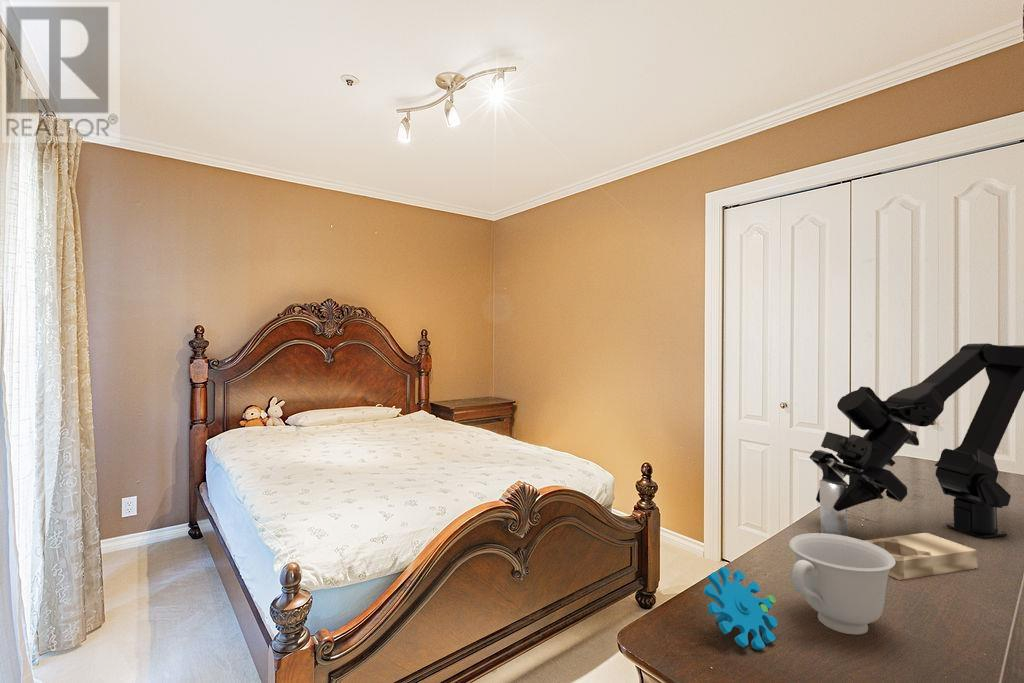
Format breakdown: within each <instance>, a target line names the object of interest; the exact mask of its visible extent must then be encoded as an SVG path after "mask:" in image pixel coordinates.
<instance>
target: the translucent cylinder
mask: <svg viewBox="0 0 1024 683" xmlns="http://www.w3.org/2000/svg"><path fill="white" fill-rule="evenodd" d="M845 482H846V481H845ZM845 482H842V481H838V480H830V479H823V480H822V479H819V488H820V503H819V509H820V533H826V534H836V535H842V536H847V537H849V521H848V520H849V519H848V518H849V517H848V514H849V513H848V508H847V509H844V510H841V511H836V510H835V509H834V508H833V506H834V505H835V503H836V501H837V500H838V498H839V497H840V496H841V494H842V493H843V492H844V490H845V489H846V488H847V485H846V483H847V482H846V483H845Z"/></svg>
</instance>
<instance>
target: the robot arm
mask: <svg viewBox="0 0 1024 683" xmlns="http://www.w3.org/2000/svg"><path fill="white" fill-rule="evenodd" d="M983 370H985V373H986V375H987V378H988V381H989V382H988V385H987V387H986V390H985V391H984V394H983V395H982V398H981V400H980V403H979V405H978V407H977V409H976V411H975V413H974V416H973V418H972V420H971V422H970V425H969V427H968V429H967V430H966V433H965V435H964V438H963V439H962V441H961V444H960V445H959V446H957V447H956V448H954V449H951V448H946V447H945V448H944V449H943V450H942V451H941V453H940V457H939V460H938V461H937V462H936V463H935V464H934V467H936V468H935V477H936V478H937V481H938V483H939V485H940V488H941V491H942V492H943V494H944V495H946V496H950V497H954V498H953V508H952V510H953V512H952V513H953V523H946V525H945V526H946V527H947V528H948V529H952V530H955V531H958V532H961V533H964V534H967V535H970V536H974V537H977V538H980V539H987V538H994V537H1002V536H1003V537H1004V536H1007V535H1008V532H1007V531H1004V530H1001V529H999V528H998V511H997V509H1002V508H1003V507H1008V506H1009V504H1010V501H1011V497H1012V495H1011V494H1010V493H1009V492H1008V491H1007V490H1006V489H1005V488H1003V487H1002V485H1000V484H999V482H997V480H998V476H999V469H998V466H997V463H996V460H995V454H996V452H997V451H998V448H999V446H1000V444H1001V441H1002V440H1003V436H1004V435H1005V433H1006V430H1007V429H1008V426H1009V423H1010V422H1011V420H1012V417H1013V415H1014V412H1015V410H1016V408H1017V406H1018V405H1019V402H1020V399H1021V398H1022V396H1023V393H1024V345H1022V344H1021V345H999V344H992V343H989V342H987V343H984V342H983V343H968V344H965V345H963V346H961V347H960V349H959V351H958V352H957V353H956V354H954V355H953V356H952V357H951V358H950V359H948V360H947V361H946V362H945V363H943V364H942V365H941V366H940V367H938V368H937V369H936V370H935V371H934V372H932V373H931V374H930V375H928V376H927V377H926V378H925V379H923V381H922V382H919V383H917V384H915V385H911V386H910V387H906V388H903V389H900V390H899V391H897V392H895V393H893V394H892V395H890V396H888V398H887V399H886V400H882V399H881V398H880V397H879V396H877V394H876V393H875V392H874V390H873V389H872V388H871V387H870V386H860V387H859V388H858V389H857V390H854V391H853V390H852V391H850V392H849V393H847V394H845V395H843V396H842V397H840V398H839V400H838V402H837V405H836V406H837V409H838V410H839V411H840V412H841V413H842V414H843V415H844V416H845V417H846V418H847V419H848V420H849V421H850V422H851V423H852V424H853V425H855V426H856V428H857V429H859V430H861V431H867V432H866V433H865V434H864V435H863V436H860V435H857V434H851V435H849V436H844V435H841V434H838V433H833V432H829V431H826V432H825V435H824V437H823V440H822V442H821V444H820V447H821V448H824V449H828V450H831V451H833V452H834V453H836V454H835V455H834V454H833V453H832V452H828V451H824V450H821V449H819V450H818V449H815V450H814V451H813V452H812V453H811V454H810V456H809V457H808V458H809V459H810V460H811V461H812V462H813V463H814V464H815V465H816V466H817V467H818V468H819V469H821V471H822V479H821V480H823V479H830V480H838V481H842V482H845V483H846V485H847V488H846V489H845V490H844V492H843V493H842V494H841V496H840V497H839V498H838V500H837V501H836V503H835V505H834V506H833V508H834V509H835V510H836V511H841V510H844V509H847V510H848V509H850V508H852V507H854V506H858V505H860V504H864V503H866V502H868V503H869V502H870V501H874V500H878V499H880V500H882V499H884V496H883V495H882V494H883V492H885V494H886V497H887V498H888V499H891V500H894V501H897V502H899V503H902V502H903V501H904V499H905V498H906V497H907V496H908V487H907V485H905V484H904V483H903V481H901V479H899V477H897V476H896V475H895V474H894V473H893V472H892V471H891V470H890V469H889V470H888V469H886V468H885V467H886V466H889V467H894V466H895V464H896V461H894V460H893V458H894V456H895V455H896V454H897V453H898V452H899V451H900V450H901V449H902V447H903V446H904V445H905V444H907V445H912V446H916V447H918V446H919V445H920V441H919V439H918V438H919V437H918V436H917V431H915V430H911V429H909V428H907V427H906V426H905V425H910V426H914V427H915V426H916V427H928V426H931V425H932V424H933V423H934V422H935V421H936V420H937V418H939V417H940V415H941V414H942V413H943V411H944V408H945V402H946V401H947V399H948V398H950V397H951V396H952V395H954V394H955V393H956V392H957V391H958V390H960V389H961V388H962V387H963V386H964V385H966V384H967V383H968V382H969V381H970V380H972V379H973V378H974V377H975V376H977V375H978V374H979V373H981V371H983ZM904 424H905V425H904ZM839 459H840V460H839ZM841 460H842V462H841ZM846 476H849V483H847V481H845V480H844V478H846ZM815 500H816V502H818V503H819V504H820V487H819V489H818V492H817V495H816V497H815Z"/></svg>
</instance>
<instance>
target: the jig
mask: <svg viewBox="0 0 1024 683" xmlns="http://www.w3.org/2000/svg"><path fill="white" fill-rule="evenodd" d="M863 541H866V542H869V543H872V544H874V545H877V546H879V547H881V548H883V549H884V550H886V551H887V552H889V553H890V554H891V555H892V556H893V557H894V559H895V561H896V562H895V565H894V566H893V567H892V568H890V570H889V572H888V577H891V578H894V579H896V580H897V581H900V580H907V579H915V578H921V577H927V576H935V575H939V574H941V575H942V574H947V573H956V572H961V571H968V570H976V569H978V567H979V566H978V550H977V549H975V548H972V547H969V546H967V545H964V544H960V543H958V542H955V541H952V540H950V539H946V538H943V537H940V536H938V535H935V534H933V533H929V532H922V533H921V532H919V533H913V534H905V535H897V536H896V535H895V536H888V537H882V538H874V539H866V540H865V539H864V540H863ZM975 568H976V569H975Z"/></svg>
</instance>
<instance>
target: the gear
mask: <svg viewBox="0 0 1024 683" xmlns="http://www.w3.org/2000/svg"><path fill="white" fill-rule="evenodd" d="M717 571H718V572H717ZM717 571H713V572H711V573H710V574H708V575H707V576H706V578H707V580H708V582H710V583H708V584H707V585H705V586H704V589H703V594H704V595H705V596H707V597H709V598H711V599H713V600H714V601H715V602H714V601H711V602H710V603H708V604H707V609H708V613H709V614H710V615H711V616H715V615H716V616H715V620H716V622H717V621H718V622H719V623H718V622H717V623H718V627H719V629H720V631H721V632H722V633H723V634H724V635H727V634H728V633H730V632H731V631H732V629H733V628H738V629H739V631H740V633H739V634H738V635H736V636H735V637H734V642H736V644H737V645H738V646H740V647H741V648H745V647H747V646H749V638H748V637H749V636H748V634H749V632H750V633H751V635H752V637H753V638H752V639H751V641H750V643H751V647H752V649H755V650H757V651H758V650H759V651H761V650H763V649H765V648H766V647H765V646H766V645H765V644H770V643H772V642H773V641H775V640H776V639H777V637H776V635H775V634H774V633H773V632H772V631H771V630H773V629H774V628H777V626H778V620H777V619H776V617H774V616H772V615H770V614H768V612H769V610H772V608H773V607H772V606H773V604H775V603H776V600H777V599H776V598H775V596H773V595H772V594H769V595H767V596H765V597H764V598H759V597H757V596H754V594H757V593H758V592H760V591H761V588H760V586H759V585H758V584H759V583H757V581H751V582H750V583H749V584H748V585H747V586H743V585H742V584H741V582H742V581H743V580H745V579H746V575H745V574H744V573H743V572H742V571H740V570H739V569H737V570H735V571H734V572H732V576H733V582H731V581H730V580H729V576H730V575H731V571H730V568H728V567H725V566H721V567H719V569H718V570H717ZM720 578H721V582H722V583H721V582H720ZM717 603H718V604H717ZM760 631H761V633H762V634H760Z"/></svg>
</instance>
